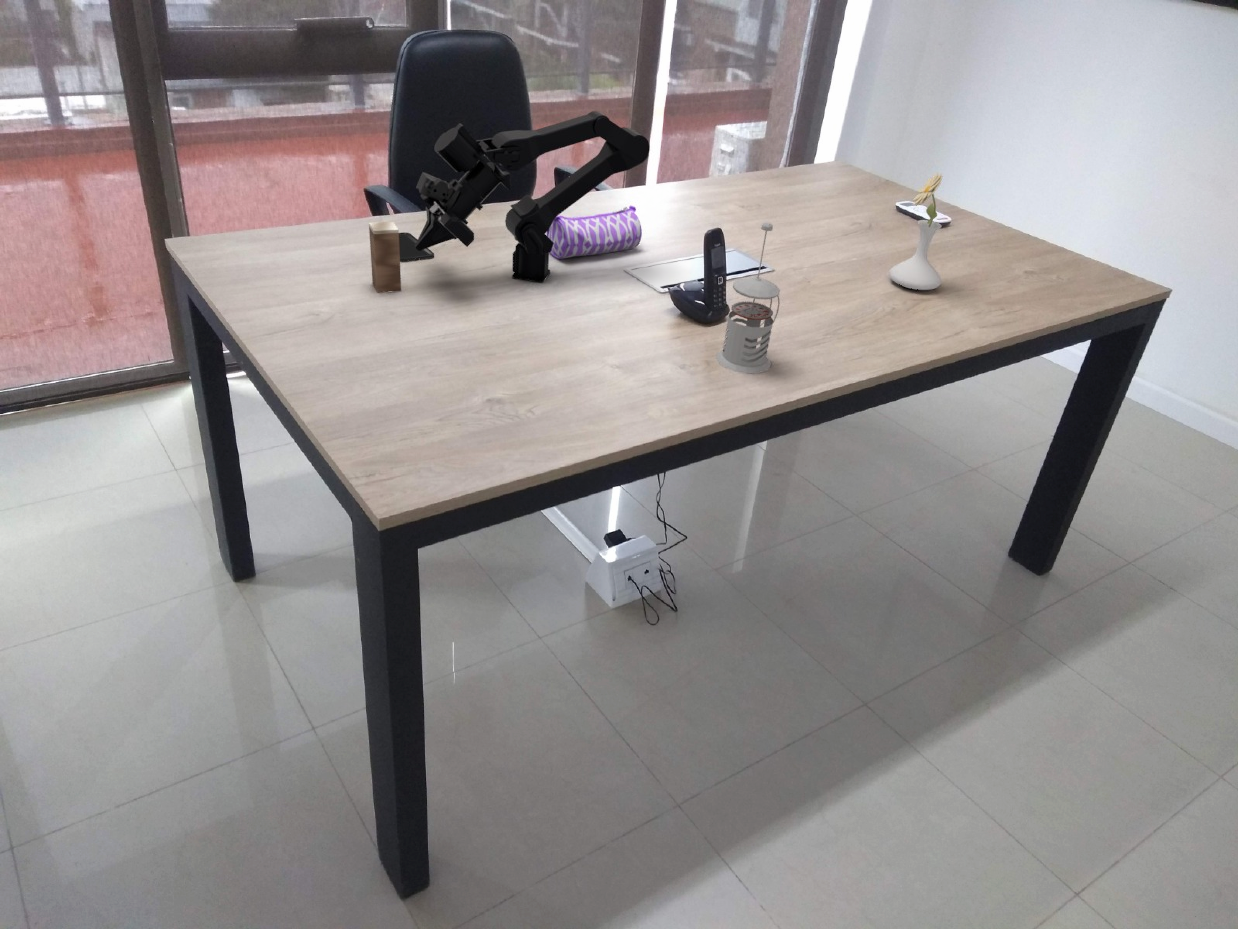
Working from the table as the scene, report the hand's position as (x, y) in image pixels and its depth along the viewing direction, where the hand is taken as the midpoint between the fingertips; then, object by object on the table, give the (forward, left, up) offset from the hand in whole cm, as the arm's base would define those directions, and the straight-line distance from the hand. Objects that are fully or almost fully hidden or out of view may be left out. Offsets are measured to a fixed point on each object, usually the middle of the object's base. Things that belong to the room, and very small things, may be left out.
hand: (416, 248), depth 173 cm
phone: (+10, -17, -8) cm, 21 cm away
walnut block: (+5, +4, -7) cm, 9 cm away
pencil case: (-28, -32, -8) cm, 44 cm away
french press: (-65, +10, -7) cm, 66 cm away
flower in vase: (-98, -41, -7) cm, 107 cm away
